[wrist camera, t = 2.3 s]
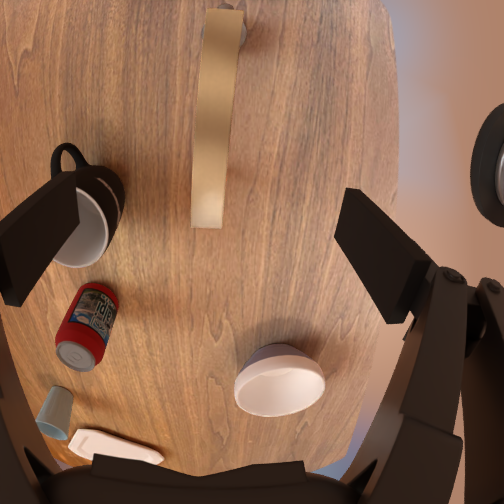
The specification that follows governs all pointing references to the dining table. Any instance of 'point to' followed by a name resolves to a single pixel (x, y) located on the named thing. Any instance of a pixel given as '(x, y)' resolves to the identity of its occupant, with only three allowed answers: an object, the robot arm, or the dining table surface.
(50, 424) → the cup
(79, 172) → the mug
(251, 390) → the bowl
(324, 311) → the dining table surface
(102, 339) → the beverage can
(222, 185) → the ladle
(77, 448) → the plate
